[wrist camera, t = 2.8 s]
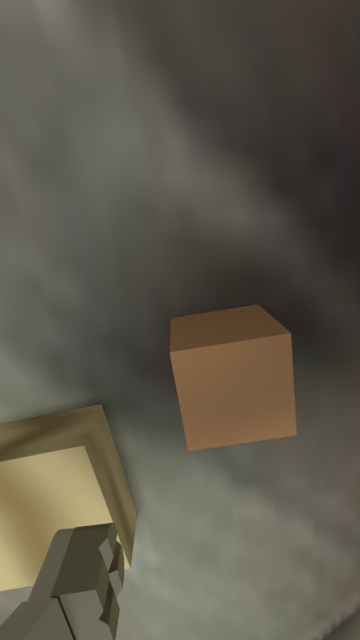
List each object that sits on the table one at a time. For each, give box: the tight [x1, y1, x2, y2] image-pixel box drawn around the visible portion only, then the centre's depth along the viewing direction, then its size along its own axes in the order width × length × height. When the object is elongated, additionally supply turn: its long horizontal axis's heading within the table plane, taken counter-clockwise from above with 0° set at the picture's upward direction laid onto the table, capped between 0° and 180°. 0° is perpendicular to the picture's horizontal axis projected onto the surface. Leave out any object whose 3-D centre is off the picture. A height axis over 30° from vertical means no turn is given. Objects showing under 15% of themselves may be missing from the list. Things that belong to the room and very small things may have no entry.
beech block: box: [0, 404, 138, 591], centre depth 18 cm, size 9×9×4 cm
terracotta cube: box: [170, 304, 297, 451], centre depth 15 cm, size 5×5×5 cm
